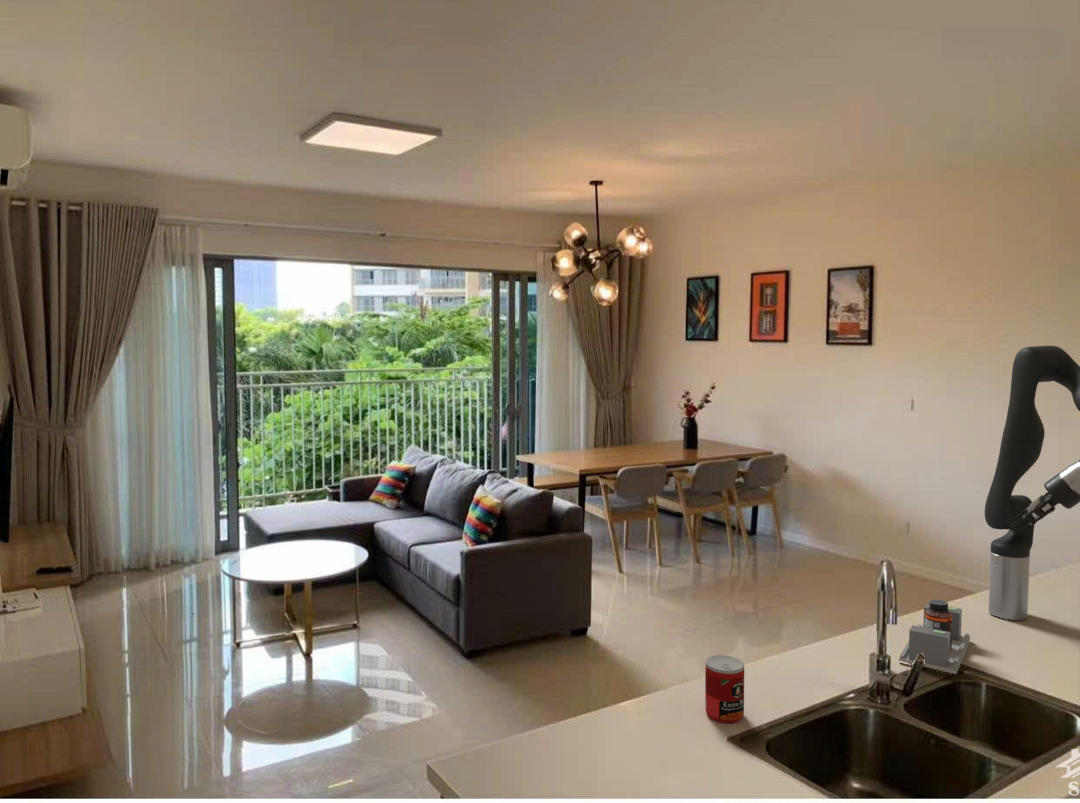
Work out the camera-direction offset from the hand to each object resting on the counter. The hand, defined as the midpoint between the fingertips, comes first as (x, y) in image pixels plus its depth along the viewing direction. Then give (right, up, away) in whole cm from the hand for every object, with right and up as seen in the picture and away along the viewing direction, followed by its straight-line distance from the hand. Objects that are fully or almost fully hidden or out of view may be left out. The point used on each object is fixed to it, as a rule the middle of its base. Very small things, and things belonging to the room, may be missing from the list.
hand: (1014, 526), depth 188 cm
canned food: (-77, -34, -29) cm, 89 cm away
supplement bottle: (-18, -30, +2) cm, 35 cm away
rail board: (-18, -31, +2) cm, 36 cm away
